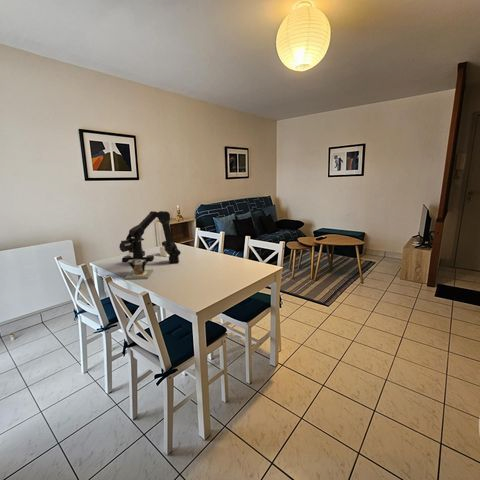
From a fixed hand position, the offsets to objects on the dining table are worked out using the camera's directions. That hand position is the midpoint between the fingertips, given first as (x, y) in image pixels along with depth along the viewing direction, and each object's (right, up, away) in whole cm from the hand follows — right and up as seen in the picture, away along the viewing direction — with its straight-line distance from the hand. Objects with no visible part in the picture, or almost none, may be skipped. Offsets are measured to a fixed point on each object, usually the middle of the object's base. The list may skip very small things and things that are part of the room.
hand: (139, 271), depth 169 cm
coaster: (0, -3, +1) cm, 3 cm away
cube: (0, -1, 0) cm, 1 cm away
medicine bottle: (+5, +8, +45) cm, 46 cm away
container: (-13, +3, +24) cm, 27 cm away
